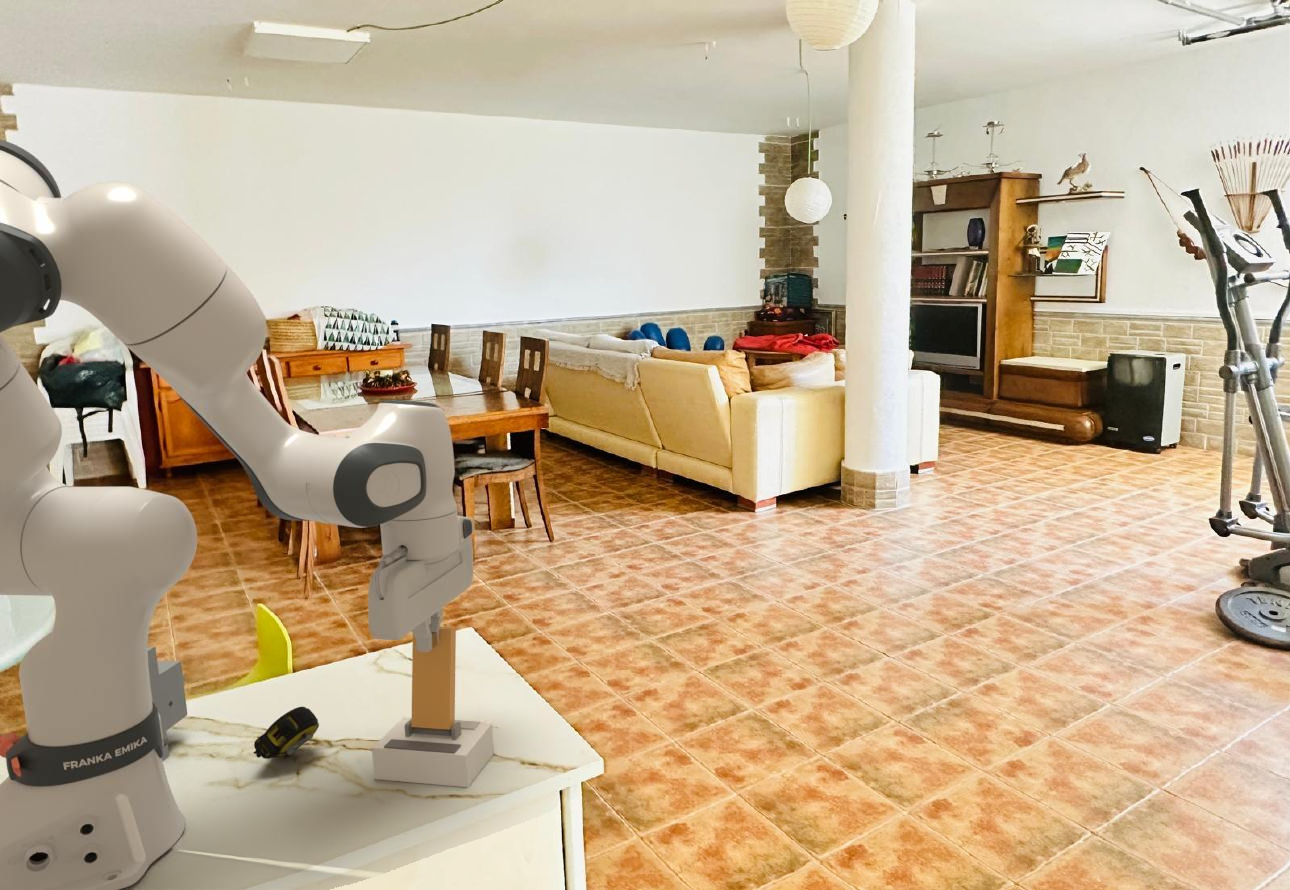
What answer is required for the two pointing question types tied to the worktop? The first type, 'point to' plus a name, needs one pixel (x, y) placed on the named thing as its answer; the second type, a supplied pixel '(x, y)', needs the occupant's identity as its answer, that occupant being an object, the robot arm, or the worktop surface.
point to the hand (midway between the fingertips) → (428, 648)
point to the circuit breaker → (167, 692)
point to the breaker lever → (434, 686)
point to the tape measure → (287, 734)
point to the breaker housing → (433, 754)
